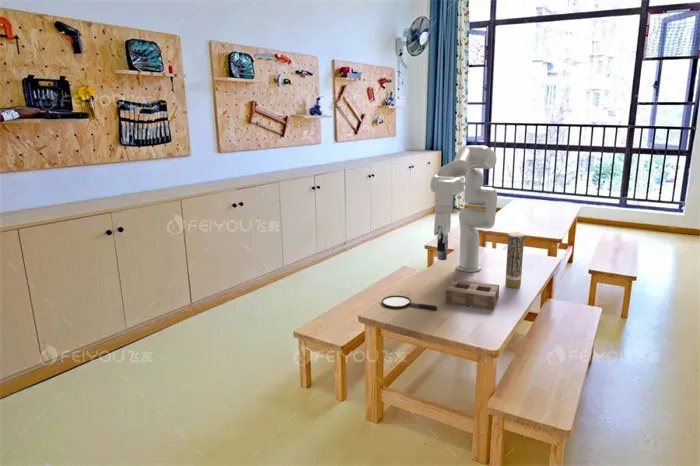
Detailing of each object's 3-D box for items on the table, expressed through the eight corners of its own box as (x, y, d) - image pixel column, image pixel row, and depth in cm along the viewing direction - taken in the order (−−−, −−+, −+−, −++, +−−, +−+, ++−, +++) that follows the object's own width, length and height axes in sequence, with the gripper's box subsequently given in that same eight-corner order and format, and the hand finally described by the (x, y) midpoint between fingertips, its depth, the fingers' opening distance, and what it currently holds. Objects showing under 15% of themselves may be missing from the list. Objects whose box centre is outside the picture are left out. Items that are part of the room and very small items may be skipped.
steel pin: (438, 256, 215) (439, 230, 212) (447, 257, 213) (448, 231, 210) (436, 259, 212) (437, 233, 208) (445, 260, 210) (446, 233, 207)
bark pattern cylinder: (521, 289, 221) (525, 236, 215) (505, 288, 222) (509, 235, 216) (519, 283, 227) (523, 232, 221) (504, 283, 229) (507, 231, 222)
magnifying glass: (431, 316, 195) (431, 311, 195) (377, 307, 206) (377, 303, 206) (440, 305, 206) (440, 300, 206) (388, 297, 217) (388, 293, 216)
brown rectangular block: (452, 291, 220) (453, 279, 218) (498, 297, 211) (499, 285, 210) (445, 303, 207) (445, 289, 206) (493, 310, 199) (494, 296, 198)
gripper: (440, 204, 216) (439, 243, 220) (429, 212, 201) (428, 254, 206) (457, 205, 212) (455, 245, 217) (447, 213, 198) (445, 256, 202)
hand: (442, 249), depth 211 cm, fingers closed on steel pin, 4 cm apart
